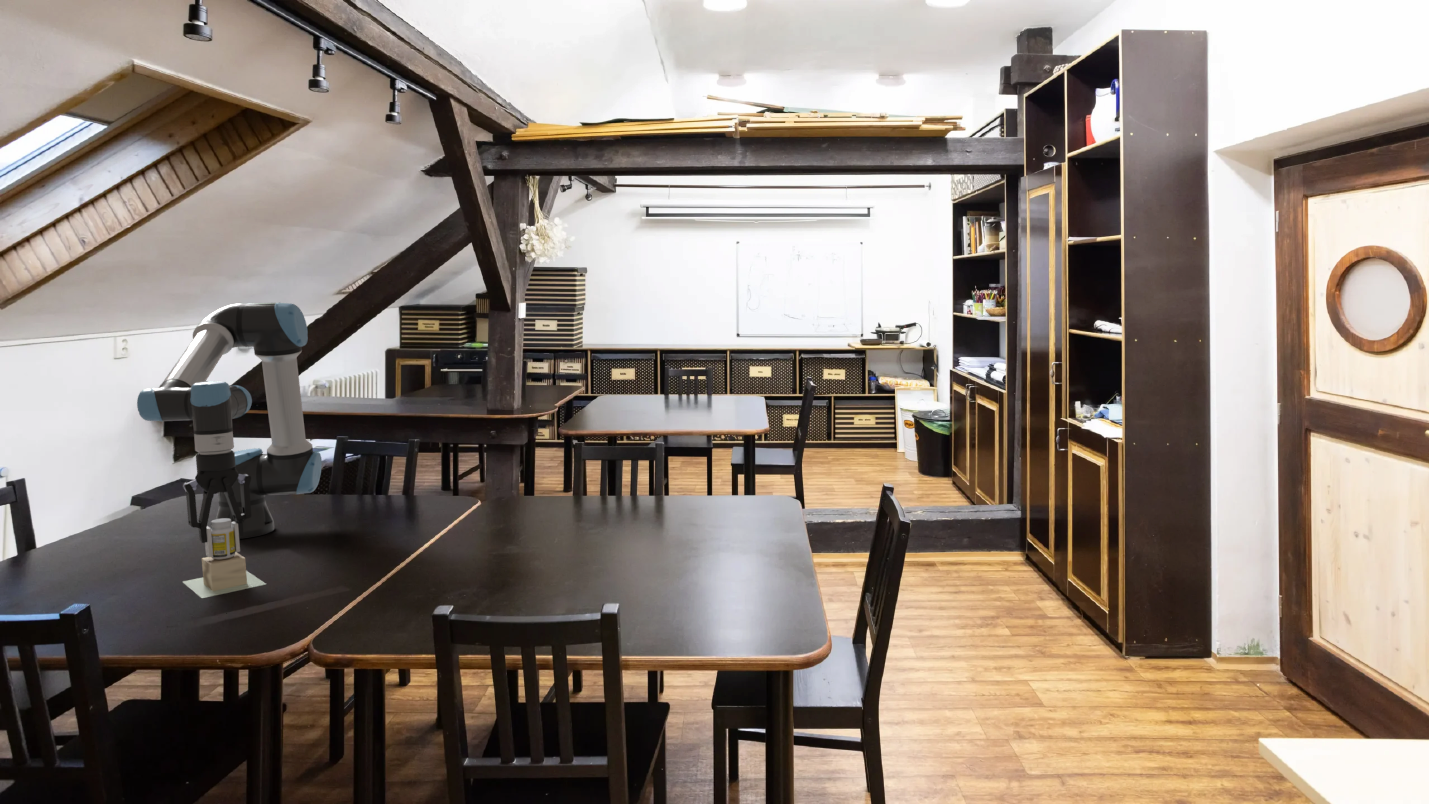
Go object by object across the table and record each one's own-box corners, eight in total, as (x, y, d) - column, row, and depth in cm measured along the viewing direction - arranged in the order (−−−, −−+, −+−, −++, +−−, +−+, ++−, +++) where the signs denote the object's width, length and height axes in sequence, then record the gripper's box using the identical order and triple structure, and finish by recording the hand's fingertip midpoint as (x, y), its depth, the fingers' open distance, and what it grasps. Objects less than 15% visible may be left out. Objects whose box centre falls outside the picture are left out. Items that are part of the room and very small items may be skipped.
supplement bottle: (229, 552, 199) (227, 516, 198) (239, 556, 197) (237, 519, 196) (207, 557, 195) (204, 520, 194) (217, 561, 193) (215, 523, 192)
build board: (182, 586, 199) (182, 581, 199) (244, 573, 208) (244, 568, 208) (202, 603, 187) (201, 598, 187) (266, 589, 197) (266, 584, 196)
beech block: (203, 583, 197) (201, 558, 196) (237, 576, 202) (235, 551, 201) (212, 591, 192) (210, 564, 191) (247, 583, 197) (245, 557, 196)
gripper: (173, 458, 184) (182, 565, 187) (263, 448, 197) (271, 548, 200) (164, 454, 190) (173, 558, 193) (253, 444, 202) (260, 542, 205)
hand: (223, 553), depth 196 cm, fingers closed on supplement bottle, 5 cm apart
